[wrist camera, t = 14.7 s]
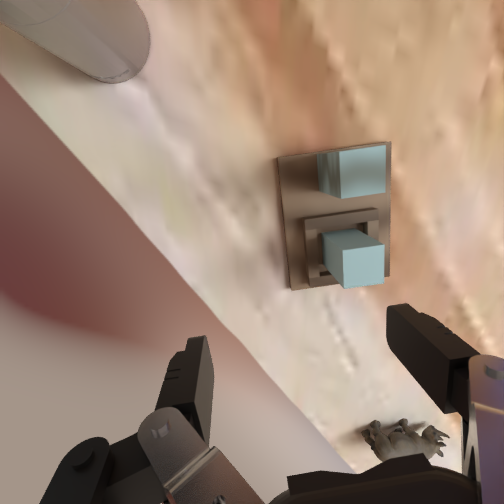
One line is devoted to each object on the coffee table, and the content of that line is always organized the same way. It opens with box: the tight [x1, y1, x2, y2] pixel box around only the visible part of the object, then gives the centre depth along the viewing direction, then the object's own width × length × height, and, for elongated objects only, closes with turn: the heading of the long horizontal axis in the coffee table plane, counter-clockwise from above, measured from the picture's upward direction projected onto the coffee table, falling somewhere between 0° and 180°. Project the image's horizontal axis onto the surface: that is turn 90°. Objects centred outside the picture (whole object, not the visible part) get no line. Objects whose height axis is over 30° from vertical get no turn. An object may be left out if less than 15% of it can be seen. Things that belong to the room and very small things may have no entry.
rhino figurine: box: [362, 419, 450, 462], centre depth 47 cm, size 4×14×6 cm, turn 93°
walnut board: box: [277, 141, 391, 291], centre depth 34 cm, size 18×14×9 cm
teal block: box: [321, 228, 385, 289], centre depth 35 cm, size 4×4×8 cm
